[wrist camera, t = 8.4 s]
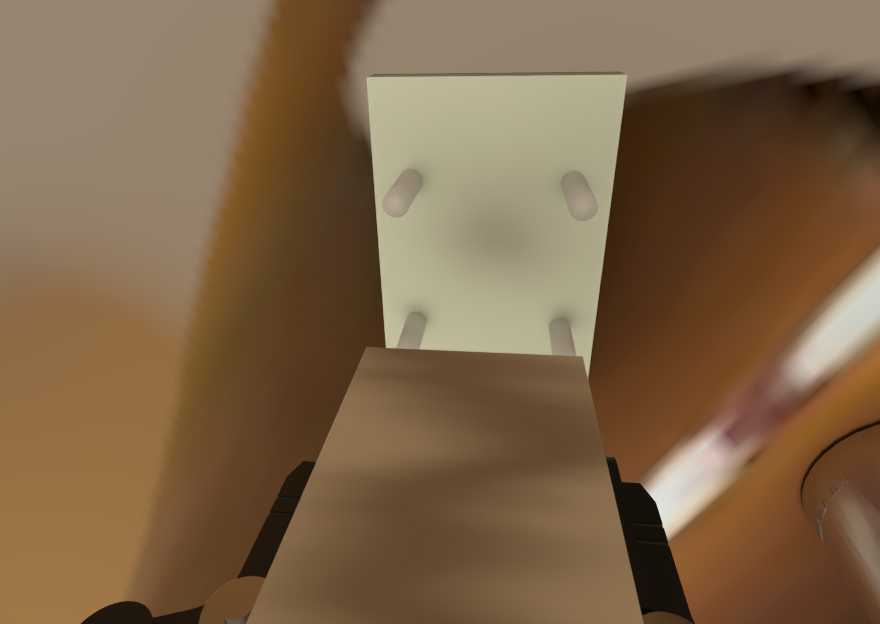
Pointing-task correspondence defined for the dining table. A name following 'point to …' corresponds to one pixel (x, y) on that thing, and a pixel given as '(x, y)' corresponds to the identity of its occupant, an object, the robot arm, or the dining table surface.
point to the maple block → (457, 501)
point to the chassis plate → (493, 207)
